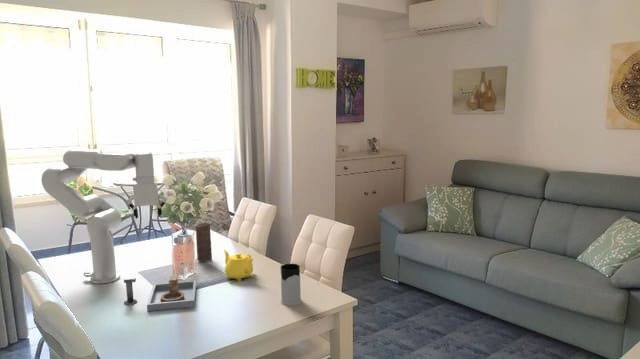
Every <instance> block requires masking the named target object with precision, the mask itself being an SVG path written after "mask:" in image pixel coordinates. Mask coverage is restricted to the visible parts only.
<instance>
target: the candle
mask: <svg viewBox="0 0 640 359" xmlns="http://www.w3.org/2000/svg"><path fill="white" fill-rule="evenodd" d="M195 238H196V260H197V261H198V262H208V261H212V260H213V253H212V252H213V251H212V239H211V238H212V237H211V224H210V222H199V223H197V224H196V225H195Z"/></svg>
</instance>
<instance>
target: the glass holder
mask: <svg viewBox="0 0 640 359" xmlns="http://www.w3.org/2000/svg"><path fill="white" fill-rule="evenodd" d="M300 271H301V270H300V265H299V264H298V263H285V264H284V263H281V264H280V275H281V279H280V286H281V288H280V289H281V291H280V292H281V293H280V294H281V298H280V299H281V300H280V304H281V305H283V306H285V307H295V306H298V305H300V304H302V302H303V300H302V298H301V296H302V295H301V294H302V293H301V275H300V273H301V272H300Z"/></svg>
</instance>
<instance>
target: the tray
mask: <svg viewBox="0 0 640 359" xmlns="http://www.w3.org/2000/svg"><path fill="white" fill-rule="evenodd" d="M178 291H179V292H183V293H184V300H182V301H171V302H161V295H163V294H165V293H167V292H170V290H169V282H163V283H162V282H161V283H154V284H153V286H152V288H151V290H150V295H149V298H148V300H147V303H146V310H147V313H150V312H151V313H152V312H162V311H172V310H180V309H191V308H192V309H193V308H195V307H196V306H195V305H196V297H197V296H196V295H197V280H196V279H195V280H186V281H185V280H183V281H178ZM176 298H178V297H169V298H167V299H176Z"/></svg>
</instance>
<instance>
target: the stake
mask: <svg viewBox="0 0 640 359" xmlns="http://www.w3.org/2000/svg"><path fill="white" fill-rule="evenodd" d="M136 282H137V278H136V277H133V278H132V277H131V278H124V279H123V284H125V287H126V288H125V289H126V300H124V302H123V305H125V306H132V305H135V304H137V303H138V300H137V299H135V298H134V290H133V289H134V287H133V283H136Z"/></svg>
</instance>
